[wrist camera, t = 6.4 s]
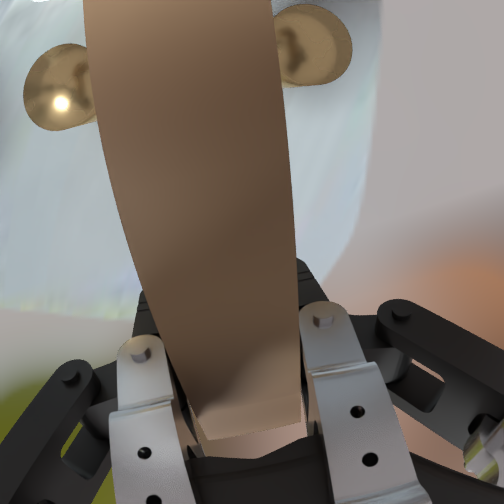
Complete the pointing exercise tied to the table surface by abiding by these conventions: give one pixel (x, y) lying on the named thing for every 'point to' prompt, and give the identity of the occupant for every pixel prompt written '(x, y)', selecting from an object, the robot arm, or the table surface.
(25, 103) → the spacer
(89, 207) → the table surface
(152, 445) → the robot arm
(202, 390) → the rake
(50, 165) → the table surface
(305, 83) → the cylinder
